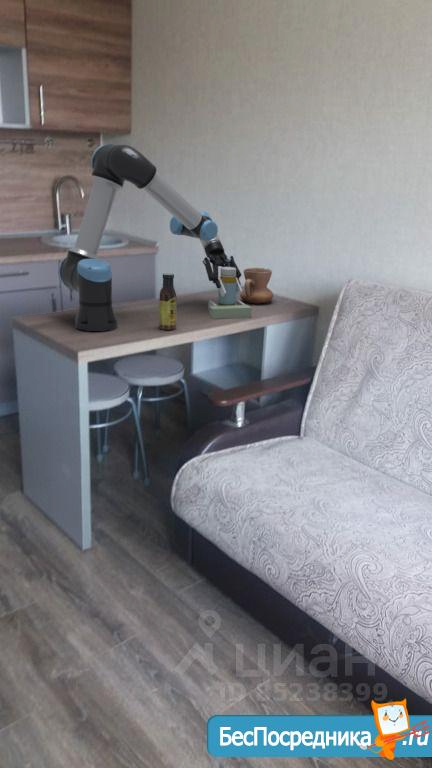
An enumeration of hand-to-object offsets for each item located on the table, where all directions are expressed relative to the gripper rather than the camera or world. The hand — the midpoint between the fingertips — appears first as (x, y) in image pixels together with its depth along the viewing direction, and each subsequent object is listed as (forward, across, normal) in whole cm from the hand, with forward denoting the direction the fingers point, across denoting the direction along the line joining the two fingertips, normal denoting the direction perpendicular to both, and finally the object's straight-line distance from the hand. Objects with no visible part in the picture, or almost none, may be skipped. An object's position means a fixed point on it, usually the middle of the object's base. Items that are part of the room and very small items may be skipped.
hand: (232, 293), depth 239 cm
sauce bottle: (+12, +33, -1) cm, 35 cm away
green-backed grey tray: (+4, +1, -8) cm, 9 cm away
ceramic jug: (-4, -22, -17) cm, 28 cm away
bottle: (+2, 0, -6) cm, 7 cm away
